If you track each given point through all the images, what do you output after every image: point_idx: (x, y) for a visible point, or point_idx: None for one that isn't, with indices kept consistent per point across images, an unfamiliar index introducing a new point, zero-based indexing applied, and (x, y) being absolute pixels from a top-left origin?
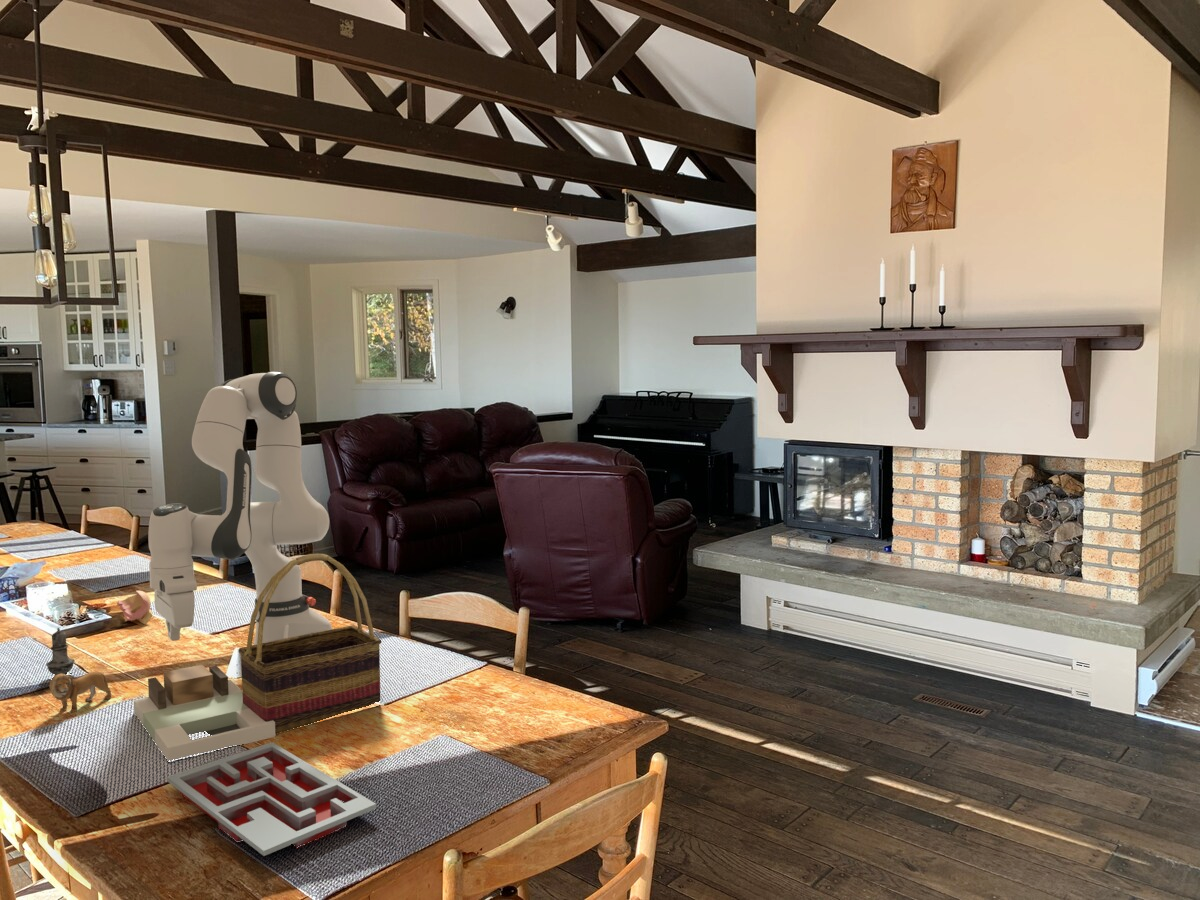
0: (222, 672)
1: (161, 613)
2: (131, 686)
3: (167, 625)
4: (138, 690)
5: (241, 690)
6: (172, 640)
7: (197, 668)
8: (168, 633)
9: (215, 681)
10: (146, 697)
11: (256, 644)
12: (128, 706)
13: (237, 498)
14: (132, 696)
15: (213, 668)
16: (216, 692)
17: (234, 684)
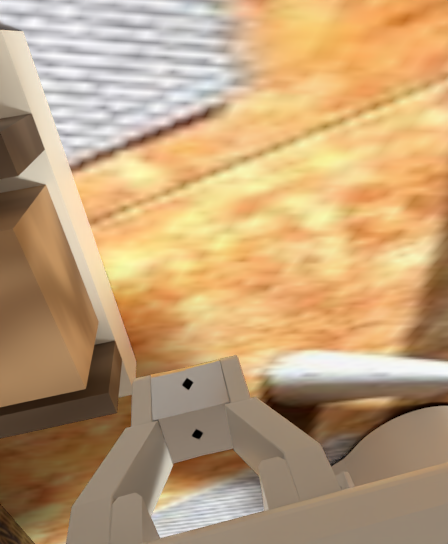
0: (6, 434)
1: (387, 526)
2: (401, 42)
3: (262, 436)
4: (330, 70)
5: None
6: (133, 381)
7: (25, 374)
8: (227, 383)
9: None
10: (24, 101)
11: (432, 442)
12: (137, 9)
13: None
14: (267, 38)
15: (77, 406)
16: None
17: None
